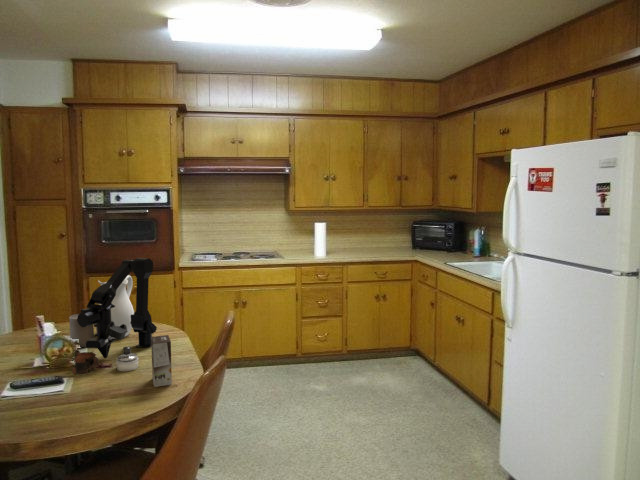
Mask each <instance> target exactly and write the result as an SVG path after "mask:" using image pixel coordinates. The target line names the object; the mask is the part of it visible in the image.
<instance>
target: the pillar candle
mask: <svg viewBox="0 0 640 480" xmlns="http://www.w3.org/2000/svg"><path fill="white" fill-rule="evenodd" d="M79 314H80V313H76V314H72V315H70V316H69V317H68V319H69V322H68V323H69V338H72V339H79V345H80V347H85V343H86V341H88V340H89V339H91V338H95V336H94V334H95V332H94V328H95V327H94V324H93V325H90V326H87V327H81V326H80V325H79V324H78V321H77V318H78V315H79Z"/></svg>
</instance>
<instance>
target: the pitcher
mask: <svg viewBox="0 0 640 480" xmlns="http://www.w3.org/2000/svg"><path fill="white" fill-rule="evenodd" d="M133 281H134V280H133V278H132V276H131V275H130V274H129V275H128V276H127V277H126V278H125V280H124V281H123V282H122V283H121V285H120V286H119V287H118V288H117V290H116V296H115V297H114V299H113V301H112V302H111V303H112V304H113V305H115V307H114V308H111V321H114V325H115V326H119V327H120V326H121V325H122V324H125V325H126V327H127V333H125V337H126V338H127V336H129V334H130V333H131V331H132V329H133V328H132V326H131V324H130V322H131V315H133V314H134V313H135V310H134V307H133V304H132V302H131V300H130V296H131V292H132V290H133V285H134V284H133V283H134V282H133ZM97 282H98V283H99V284H100V286H101V285H103V284H105V283H106V282H107V281H105V282H101V281H100V280H97ZM98 305H102V304H98ZM125 337H124V338H125ZM112 339H116V338H113V337H112ZM116 340H117V339H116Z"/></svg>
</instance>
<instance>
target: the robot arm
mask: <svg viewBox="0 0 640 480" xmlns="http://www.w3.org/2000/svg"><path fill="white" fill-rule="evenodd" d="M153 261H154V260H152V259H150V258H146V257H136V258H135V259H123V260H122V261H121V263H120V265H119V266H118V268H116V270H115V271H114V272H113V274H112V275H111V276H110V277H109V279H108V280H107V281H105V282H106V283H105V282H104V283H105V284H103V285H101V284H100V286H98V287H96V289H95V290H94V291H92V294H91V296H90V299H89V301H88V303H87V305H86V308H83V309H80V313H78V314H79V315H78V318H77V321H78V324H79V325H80V326H81V327H87V326H90V325H93V328H96V332H95V333H94V338H91V339H89V340H88V341H86V343H85V347H86V348H85V349H97V350H98V351H99V353H100V354H101V356H102V357H103V358H104V359H107V358H108V356H109V353H110V348H111V345H112V344H113V342H115V340H118V341H121V340H122V339H124V338H125V333H127V327H126V325H125V324H122V325H121V326H120V327H119V326H115V325H114V321H111V308H114V307H115V305H113V304H112V303H111V302H112V301H113V299H114V297H115V296H116V290H117V288H118V287H119V286H120V285H121V283H122V282H123V281H124V280H125V278H126V277H127V276H128V275H129V276H130V273H131V272H132V271H133V275H135V278H136V292H135V294H136V296H135V299H136V300H135V310H134V314H133V315H131V322H130V324H131V326H132V329H133V332H134V333H138V344H136V345H135V348H152V347H151V337H153V334H155V332H156V333H157V329H158V327H157V325H155V324H154V322H153V321H152V314H150V312H149V281H150V280H149V278H150V277H151V275H152V274H153V270H154V262H153ZM99 304H102V305H99ZM112 337H113V338H116V339H112Z"/></svg>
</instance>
